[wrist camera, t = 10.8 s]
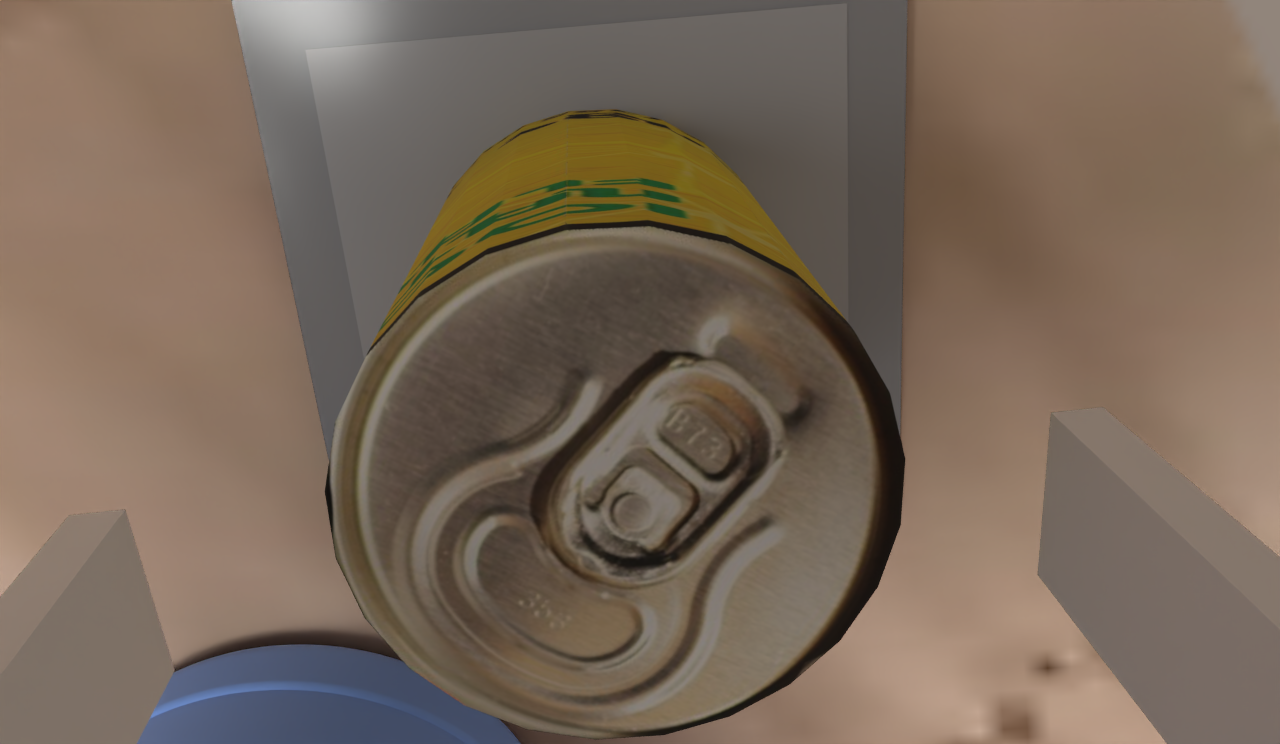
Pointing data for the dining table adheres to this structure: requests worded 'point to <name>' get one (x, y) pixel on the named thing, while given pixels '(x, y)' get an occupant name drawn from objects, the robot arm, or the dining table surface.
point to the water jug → (312, 702)
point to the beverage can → (612, 442)
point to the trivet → (553, 84)
